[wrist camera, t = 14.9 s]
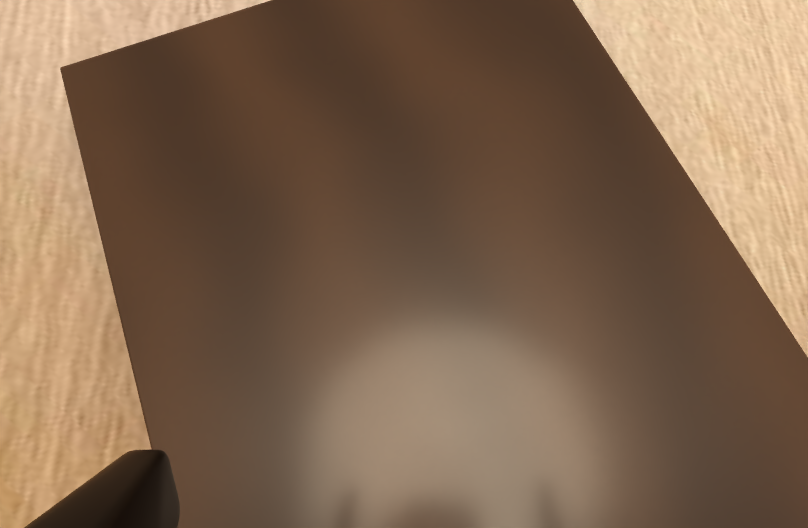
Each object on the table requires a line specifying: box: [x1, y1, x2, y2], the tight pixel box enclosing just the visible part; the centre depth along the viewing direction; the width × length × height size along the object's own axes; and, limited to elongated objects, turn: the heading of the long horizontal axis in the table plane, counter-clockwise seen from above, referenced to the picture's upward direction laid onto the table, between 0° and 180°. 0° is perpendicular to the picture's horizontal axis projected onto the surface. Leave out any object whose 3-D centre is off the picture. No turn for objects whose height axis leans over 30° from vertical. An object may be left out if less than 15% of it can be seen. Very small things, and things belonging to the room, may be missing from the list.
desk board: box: [61, 0, 808, 528], centre depth 21 cm, size 20×25×2 cm
